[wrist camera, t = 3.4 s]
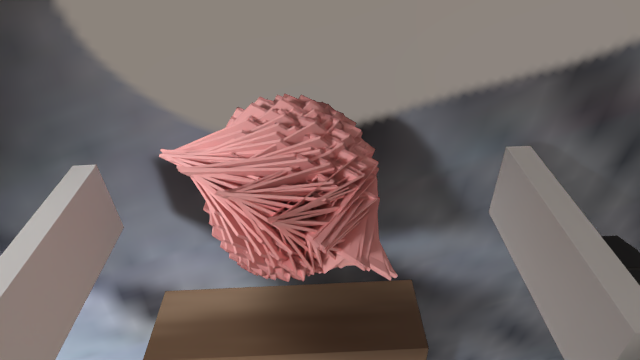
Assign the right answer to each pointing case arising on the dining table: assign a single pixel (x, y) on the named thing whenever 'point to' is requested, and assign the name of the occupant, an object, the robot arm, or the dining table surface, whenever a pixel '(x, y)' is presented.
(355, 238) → the flower
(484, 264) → the dining table surface
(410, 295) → the walnut base
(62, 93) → the dining table surface
